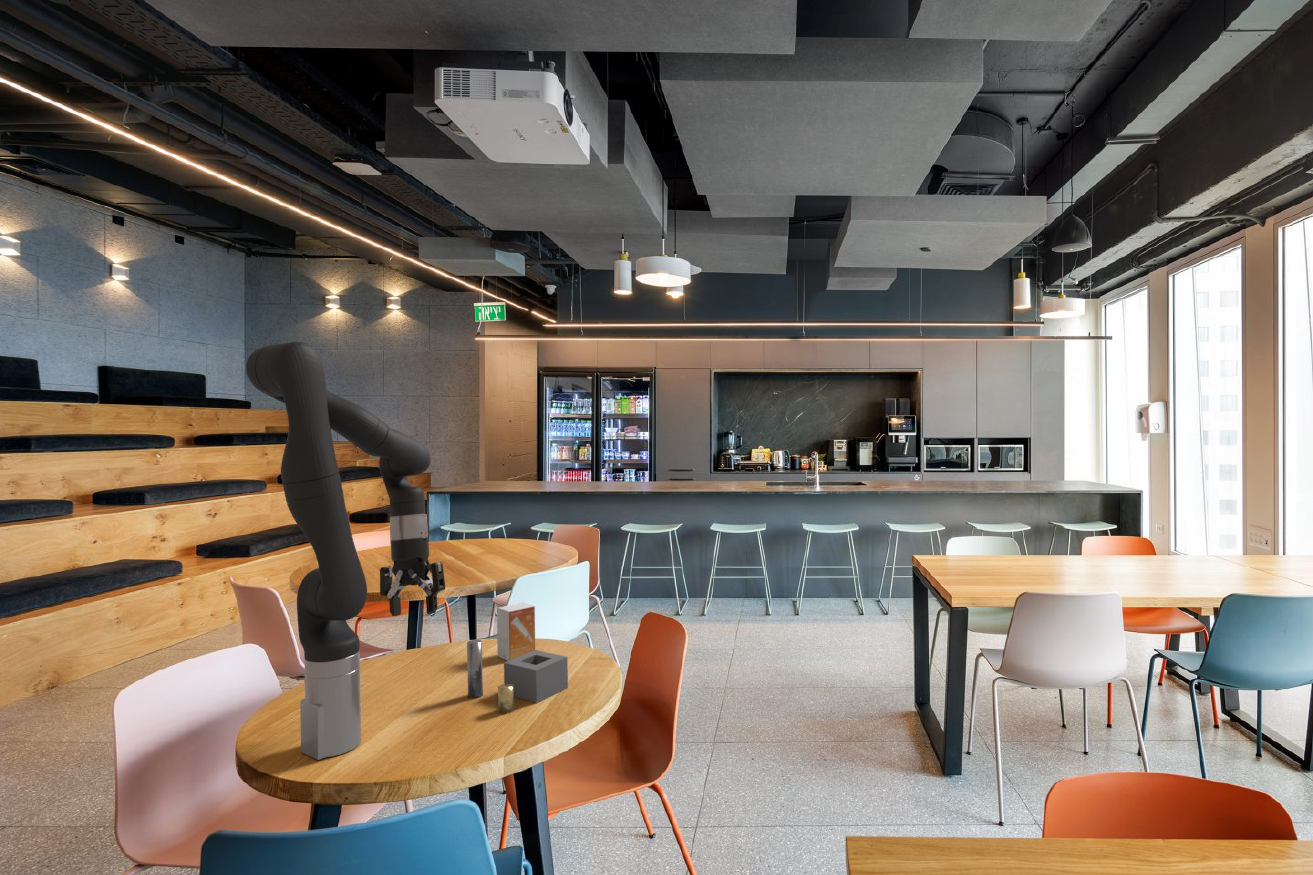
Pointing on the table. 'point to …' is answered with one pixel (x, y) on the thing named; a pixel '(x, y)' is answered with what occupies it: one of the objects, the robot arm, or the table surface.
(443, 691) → the table surface
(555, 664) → the collar block
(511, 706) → the brass pin
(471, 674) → the grey metal rod
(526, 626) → the small box
